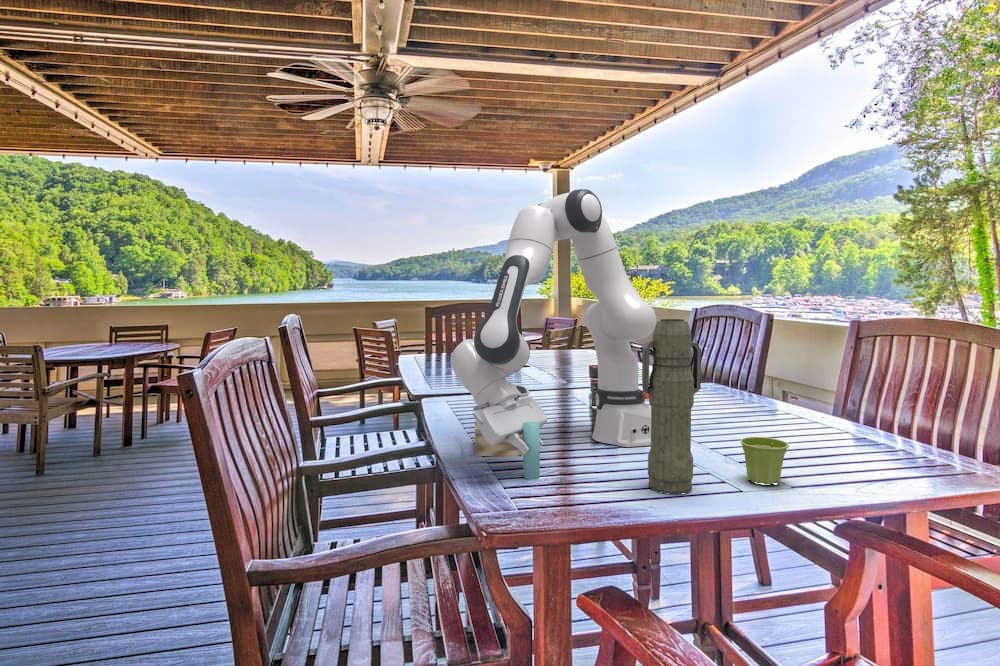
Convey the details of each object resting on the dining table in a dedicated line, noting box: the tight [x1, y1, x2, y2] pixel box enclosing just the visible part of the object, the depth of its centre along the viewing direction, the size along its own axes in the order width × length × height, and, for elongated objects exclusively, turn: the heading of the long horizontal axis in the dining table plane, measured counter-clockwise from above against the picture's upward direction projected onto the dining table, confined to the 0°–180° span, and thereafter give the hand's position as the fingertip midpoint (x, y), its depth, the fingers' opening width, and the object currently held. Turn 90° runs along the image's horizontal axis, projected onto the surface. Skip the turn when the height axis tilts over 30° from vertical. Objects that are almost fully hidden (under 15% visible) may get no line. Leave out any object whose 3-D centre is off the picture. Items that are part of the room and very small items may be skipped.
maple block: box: [474, 420, 523, 458], centre depth 148 cm, size 14×14×6 cm
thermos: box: [641, 318, 702, 495], centre depth 116 cm, size 9×12×35 cm
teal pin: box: [522, 422, 541, 480], centre depth 124 cm, size 4×4×12 cm
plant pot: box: [739, 436, 790, 484], centre depth 120 cm, size 9×9×9 cm
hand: (533, 449), depth 124 cm, fingers closed on teal pin, 4 cm apart
